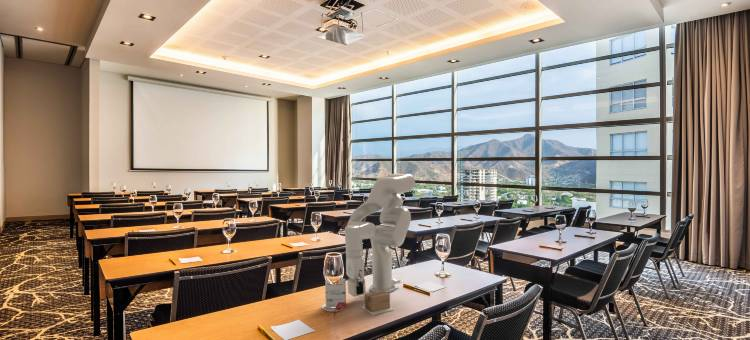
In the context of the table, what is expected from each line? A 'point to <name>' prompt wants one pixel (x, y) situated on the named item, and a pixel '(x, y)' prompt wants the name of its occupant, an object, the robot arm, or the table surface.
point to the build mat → (378, 311)
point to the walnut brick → (377, 301)
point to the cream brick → (354, 287)
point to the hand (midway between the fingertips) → (356, 291)
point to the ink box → (336, 294)
